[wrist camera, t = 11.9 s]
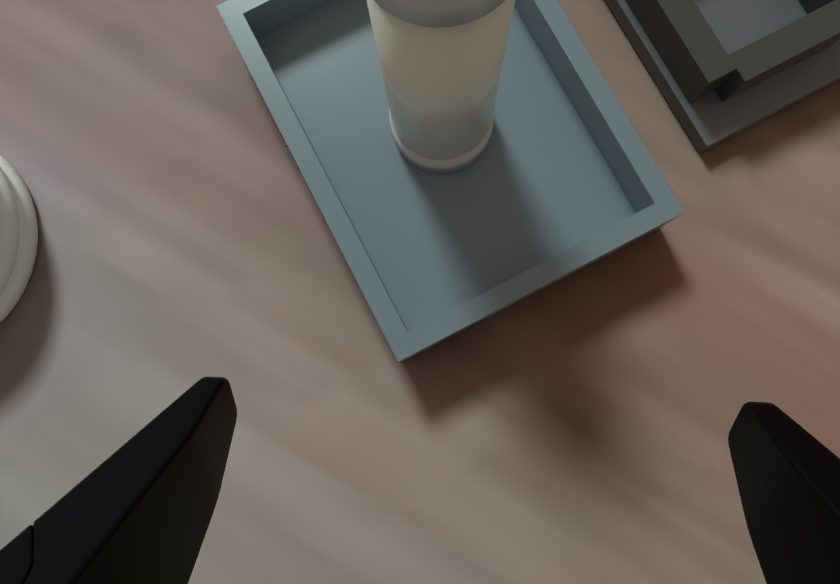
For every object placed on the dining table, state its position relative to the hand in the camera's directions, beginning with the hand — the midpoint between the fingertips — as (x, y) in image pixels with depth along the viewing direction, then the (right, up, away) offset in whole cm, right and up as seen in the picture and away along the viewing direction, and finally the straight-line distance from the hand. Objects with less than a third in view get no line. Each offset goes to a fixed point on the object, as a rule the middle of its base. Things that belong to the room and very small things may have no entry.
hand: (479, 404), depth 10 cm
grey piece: (+12, +14, +15) cm, 24 cm away
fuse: (0, +9, +14) cm, 17 cm away
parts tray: (0, +9, +15) cm, 17 cm away
